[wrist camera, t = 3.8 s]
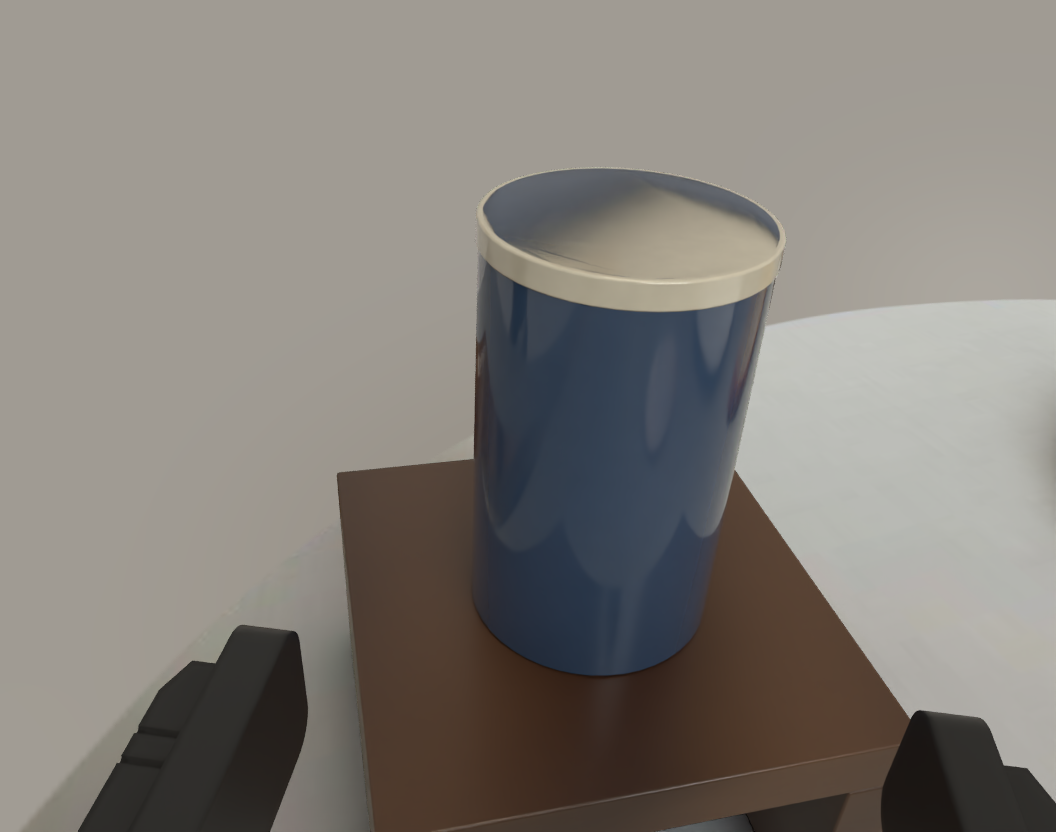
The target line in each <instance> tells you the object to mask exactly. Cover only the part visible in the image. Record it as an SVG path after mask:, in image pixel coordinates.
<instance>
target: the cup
mask: <svg viewBox="0 0 1056 832" xmlns="http://www.w3.org/2000/svg"><path fill="white" fill-rule="evenodd" d="M476 244H477V247H478V275H477V324H476V325H477V326H476V374H475V424H474V474H473V524H472V574H471V590H472V596H473V600H474V603H475V606H476V609H477V611H478V613H479V615H480V616H481V618H482V620H483V622H484V623H485V624H486V626H487V627H488V628H489V630H490V631H491V632H492V633H493V634H494V635H495V636H496V637H497V638H498V639H499V640H500V641H501V642H502V643H503V644H505V645H506V646H507V647H509V648H510V649H511V650H513V651H514V652H516V653H517V654H519V655H521V656H523V657H524V658H526V659H528V660H530V661H533V662H535V663H537V664H539V665H542V666H545V667H548V668H551V669H554V670H557V671H562V672H566V673H571V674H577V675H587V676H612V675H622V674H628V673H632V672H637V671H641V670H644V669H647V668H650V667H652V666H655V665H657V664H659V663H661V662H663V661H665V660H667V659H668V658H670V657H671V656H673V655H674V654H676V653H677V652H678V651H679V650H680V649H682V648H683V647H684V646H685V645H686V644H687V643H688V642H689V641H690V639H691V638H692V637H693V635H694V634H695V633H696V631H697V629H698V627H699V625H700V623H701V620H702V616H703V613H704V608H705V604H706V599H707V594H708V590H709V585H710V580H711V576H712V571H713V567H714V562H715V557H716V553H717V548H718V543H719V539H720V534H721V529H722V525H723V520H724V516H725V511H726V506H727V502H728V497H729V492H730V488H731V483H732V479H733V474H734V469H735V465H736V460H737V455H738V451H739V446H740V441H741V437H742V432H743V428H744V423H745V418H746V414H747V409H748V404H749V400H750V395H751V390H752V386H753V381H754V377H755V372H756V367H757V363H758V358H759V353H760V349H761V344H762V339H763V335H764V330H765V326H766V321H767V316H768V311H769V307H770V302H771V298H772V293H773V288H774V284H775V279H776V276H777V275H778V274H779V270H780V268H781V264H782V259H783V255H784V250H785V246H786V234H785V231H784V228H783V226H782V224H781V223H780V222H779V220H778V219H777V218H776V217H775V216H774V215H773V214H772V213H771V212H770V211H769V210H767V209H766V208H764V207H763V206H762V205H760V204H758V203H757V202H755V201H753V200H751V199H749V198H747V197H745V196H743V195H741V194H739V193H736V192H734V191H731V190H729V189H726V188H723V187H721V186H718V185H714V184H711V183H708V182H704V181H701V180H697V179H693V178H689V177H684V176H679V175H674V174H669V173H662V172H656V171H648V170H639V169H627V168H607V167H602V168H601V167H596V168H595V167H593V168H591V167H589V168H569V169H560V170H552V171H545V172H539V173H535V174H530V175H526V176H523V177H519V178H516V179H513V180H510V181H508V182H505V183H503V184H501V185H499V186H497V187H496V188H494V189H492V190H491V191H489V192H488V193H487V194H486V195H485V196H484V197H483V198H482V200H481V201H480V203H479V205H478V207H477V210H476Z"/></svg>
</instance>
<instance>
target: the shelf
mask: <svg viewBox="0 0 1056 832" xmlns="http://www.w3.org/2000/svg"><path fill="white" fill-rule="evenodd" d="M473 474H474V459H470V460H460V461H450V462H440V463H430V464H420V465H411V466H400V467H390V468H380V469H370V470H360V471H350V472H340V473H338V474H337V482H338V495H339V506H340V519H341V531H342V543H343V555H344V567H345V579H346V591H347V603H348V615H349V627H350V639H351V649H352V659H353V669H354V679H355V689H356V699H357V709H358V719H359V729H360V738H361V748H362V758H363V768H364V778H365V788H366V798H367V808H368V818H369V828H370V832H655V831H660V830H665V829H670V828H675V827H680V826H685V825H690V824H695V823H700V822H705V821H710V820H715V819H720V818H725V817H730V816H735V815H740V814H745V813H746V814H747V816H748V818H749V820H750V822H751V824H752V826H753V828H754V831H755V832H883V831H882V824H881V795H882V789H883V785H884V782H885V779H886V776H887V774H888V772H889V769H890V767H891V765H892V762H893V760H894V757H895V755H896V753H897V750H898V748H899V746H900V743H901V741H902V739H903V736H904V734H905V731H906V729H907V727H908V724H909V722H910V718H909V717H908V715H907V714H906V713H905V711H904V710H903V708H902V707H901V706H900V704H899V703H898V701H897V700H896V698H895V697H894V696H893V694H892V693H891V691H890V690H889V688H888V687H887V686H886V684H885V683H884V681H883V680H882V678H881V677H880V676H879V674H878V673H877V671H876V670H875V669H874V667H873V666H872V664H871V663H870V661H869V660H868V659H867V657H866V656H865V654H864V653H863V651H862V650H861V649H860V647H859V646H858V644H857V643H856V642H855V640H854V639H853V637H852V636H851V634H850V633H849V632H848V630H847V629H846V627H845V626H844V624H843V623H842V622H841V620H840V619H839V617H838V616H837V615H836V613H835V612H834V610H833V609H832V607H831V606H830V605H829V603H828V602H827V600H826V599H825V597H824V596H823V595H822V593H821V592H820V590H819V589H818V587H817V586H816V585H815V583H814V582H813V580H812V579H811V578H810V576H809V575H808V573H807V572H806V570H805V569H804V568H803V566H802V565H801V563H800V562H799V560H798V559H797V558H796V556H795V555H794V553H793V552H792V551H791V549H790V548H789V546H788V545H787V543H786V542H785V541H784V539H783V538H782V536H781V535H780V533H779V532H778V531H777V529H776V528H775V526H774V525H773V523H772V522H771V521H770V519H769V518H768V516H767V515H766V514H765V512H764V511H763V509H762V508H761V506H760V505H759V504H758V502H757V501H756V499H755V498H754V496H753V495H752V494H751V492H750V491H749V489H748V488H747V487H746V485H745V484H744V482H743V481H742V479H741V478H740V477H739V475H738V474H737V472H736V471H735V469H734V474H733V479H732V483H731V488H730V492H729V497H728V502H727V506H726V511H725V516H724V520H723V525H722V529H721V534H720V539H719V543H718V548H717V553H716V557H715V562H714V567H713V571H712V576H711V580H710V585H709V590H708V594H707V599H706V604H705V608H704V613H703V616H702V620H701V623H700V625H699V627H698V629H697V631H696V633H695V634H694V635H693V637H692V638H691V639H690V641H689V642H688V643H687V644H686V645H685V646H684V647H683V648H682V649H680V650H679V651H678V652H677V653H676V654H674V655H673V656H671V657H670V658H668V659H667V660H665V661H663V662H661V663H659V664H657V665H655V666H652V667H650V668H647V669H644V670H641V671H637V672H632V673H628V674H622V675H612V676H587V675H577V674H571V673H566V672H562V671H557V670H554V669H551V668H548V667H545V666H542V665H539V664H537V663H535V662H533V661H530V660H528V659H526V658H524V657H523V656H521V655H519V654H517V653H516V652H514V651H513V650H511V649H510V648H509V647H507V646H506V645H505V644H503V643H502V642H501V641H500V640H499V639H498V638H497V637H496V636H495V635H494V634H493V633H492V632H491V631H490V630H489V628H488V627H487V626H486V624H485V623H484V622H483V620H482V618H481V616H480V615H479V613H478V611H477V609H476V606H475V603H474V600H473V596H472V590H471V574H472V524H473Z"/></svg>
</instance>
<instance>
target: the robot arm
mask: <svg viewBox="0 0 1056 832" xmlns="http://www.w3.org/2000/svg"><path fill="white" fill-rule="evenodd" d="M307 717H308V704H307V696H306V688H305V680H304V673H303V665H302V657H301V649H300V642H299V637H298V634H297V633H296V632H295V631H288V630H280V629H272V628H264V627H255V626H247V625H240V626H238V627H237V628H236V629H235V630H234V631H233V632H232V634H231V636H230V637H229V639H228V641H227V643H226V645H225V647H224V649H223V651H222V653H221V655H220V656H219V658H218V660H217V662H216V664H215V663H207V662H199V661H191V662H190V663H189V664H188V665H187V666H186V667H185V668H183V669H182V670H181V671H180V672H179V673H178V674H177V675H176V676H174V677H173V678H172V679H171V680H170V681H169V682H168V683H166V684H165V685H164V686H163V687H162V688H161V689H160V690H159V691H158V693H157V695H156V696H155V698H154V700H153V701H152V703H151V705H150V707H149V708H148V710H147V712H146V714H145V715H144V717H143V719H142V721H141V722H140V724H139V728H138V732H137V733H134V734H133V736H132V738H131V740H130V741H129V743H128V745H127V747H126V748H125V750H124V752H123V754H122V755H121V756H122V758H121V761H120V763H117V764H116V766H115V767H114V769H113V771H112V773H111V774H110V776H109V778H108V780H107V781H106V783H105V785H104V787H103V788H102V790H101V792H100V794H99V795H98V797H97V799H96V800H95V802H94V804H93V806H92V807H91V809H90V811H89V813H88V814H87V816H86V818H85V820H84V821H83V823H82V825H81V827H80V828H79V830H78V832H270V830H271V827H272V825H273V822H274V820H275V817H276V814H277V812H278V809H279V807H280V804H281V801H282V799H283V796H284V794H285V791H286V788H287V786H288V783H289V781H290V778H291V775H292V773H293V770H294V768H295V765H296V762H297V760H298V757H299V754H300V751H301V748H302V745H303V741H304V737H305V732H306V726H307ZM881 824H882V831H883V832H1056V803H1055V802H1054V800H1053V799H1052V798H1051V797H1050V796H1049V794H1048V793H1047V792H1046V791H1045V790H1044V788H1043V787H1042V786H1041V785H1040V783H1039V782H1038V781H1037V780H1036V779H1035V777H1034V776H1033V775H1032V774H1031V773H1030V771H1029V770H1028V769H1027V768H1020V767H1012V766H1004V765H1003V763H1002V760H1001V757H1000V755H999V752H998V749H997V747H996V744H995V741H994V738H993V736H992V733H991V731H990V729H989V727H988V725H987V724H986V723H985V721H984V720H982V719H981V718H978V717H970V716H962V715H954V714H946V713H938V712H930V711H921V710H919V711H916V712H915V713H914V714H913V716H912V718H911V720H910V722H909V724H908V727H907V729H906V731H905V734H904V736H903V739H902V741H901V743H900V746H899V748H898V750H897V753H896V755H895V757H894V760H893V762H892V765H891V767H890V769H889V772H888V774H887V776H886V779H885V782H884V785H883V789H882V795H881Z"/></svg>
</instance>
